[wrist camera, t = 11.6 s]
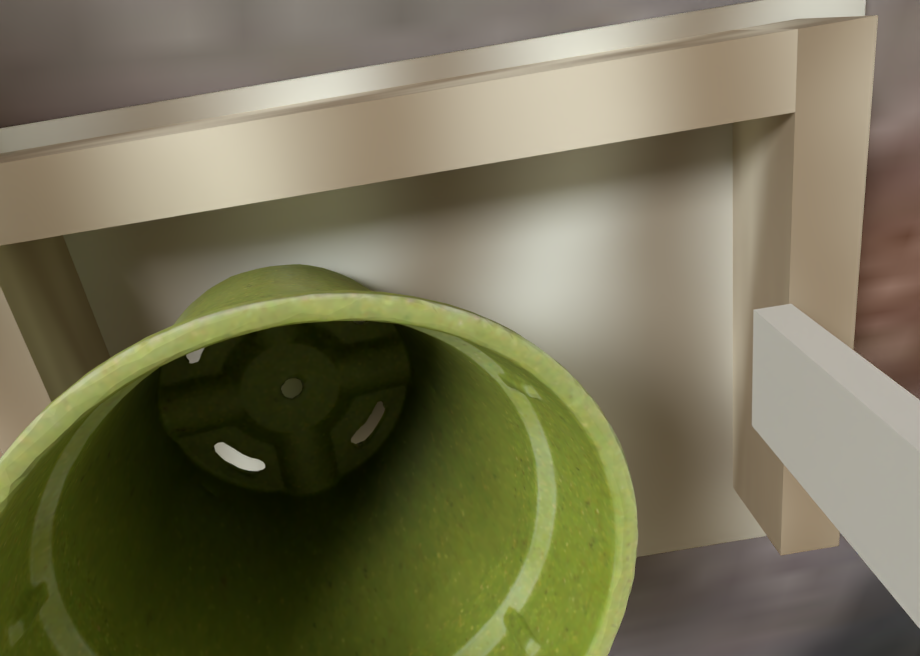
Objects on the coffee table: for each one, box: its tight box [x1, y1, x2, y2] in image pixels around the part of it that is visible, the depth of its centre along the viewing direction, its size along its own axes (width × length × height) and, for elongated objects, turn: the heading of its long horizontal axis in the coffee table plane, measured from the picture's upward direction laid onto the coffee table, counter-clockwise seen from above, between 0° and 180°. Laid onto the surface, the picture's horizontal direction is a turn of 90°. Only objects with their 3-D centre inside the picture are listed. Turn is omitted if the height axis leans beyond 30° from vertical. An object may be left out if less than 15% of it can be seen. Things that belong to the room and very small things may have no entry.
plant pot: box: [0, 264, 638, 656], centre depth 14 cm, size 9×9×9 cm
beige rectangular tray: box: [0, 0, 878, 557], centre depth 17 cm, size 22×15×4 cm
